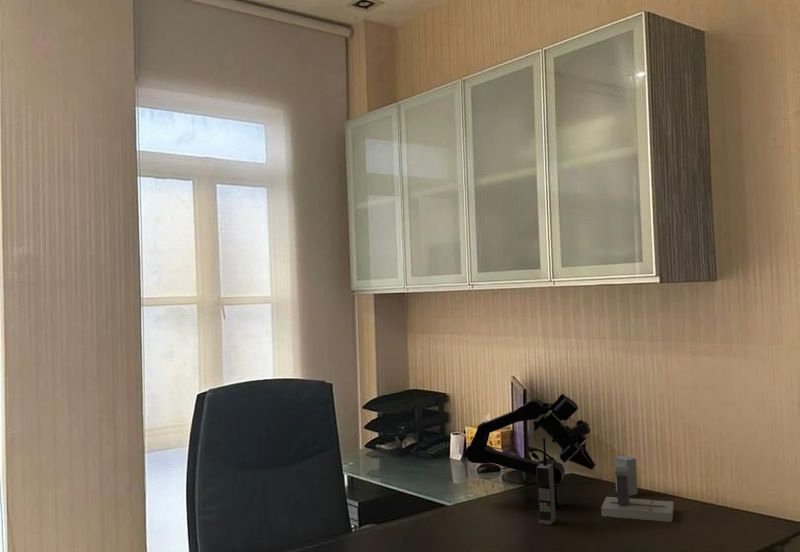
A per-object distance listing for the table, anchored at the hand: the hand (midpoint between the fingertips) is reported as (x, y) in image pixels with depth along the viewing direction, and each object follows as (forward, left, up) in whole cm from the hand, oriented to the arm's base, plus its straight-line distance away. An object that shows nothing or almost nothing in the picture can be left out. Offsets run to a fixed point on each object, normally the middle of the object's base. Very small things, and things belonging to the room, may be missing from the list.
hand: (593, 467), depth 222 cm
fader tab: (+3, -8, -10) cm, 13 cm away
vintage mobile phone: (-19, +6, -13) cm, 24 cm away
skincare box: (+22, +1, -13) cm, 26 cm away
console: (+4, -12, -13) cm, 18 cm away
